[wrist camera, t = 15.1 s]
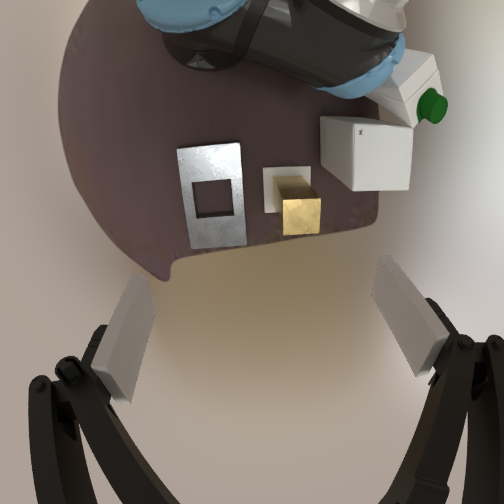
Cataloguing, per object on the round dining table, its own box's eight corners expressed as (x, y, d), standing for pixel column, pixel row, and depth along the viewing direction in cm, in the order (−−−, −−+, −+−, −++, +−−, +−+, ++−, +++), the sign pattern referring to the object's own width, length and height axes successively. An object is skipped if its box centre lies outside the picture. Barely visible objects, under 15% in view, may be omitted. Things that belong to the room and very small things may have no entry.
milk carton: (327, 83, 40) (422, 142, 29) (299, 46, 33) (408, 95, 22) (360, 53, 37) (458, 103, 26) (336, 15, 30) (450, 54, 19)
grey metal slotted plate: (179, 147, 44) (176, 149, 42) (239, 141, 44) (239, 142, 42) (192, 243, 53) (191, 249, 51) (246, 239, 53) (246, 245, 51)
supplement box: (319, 166, 47) (350, 193, 34) (318, 115, 42) (352, 121, 29) (367, 166, 47) (410, 192, 34) (368, 117, 42) (415, 127, 29)
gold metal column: (272, 176, 47) (283, 200, 36) (301, 175, 47) (320, 198, 36) (273, 204, 49) (283, 235, 39) (301, 203, 49) (319, 233, 39)
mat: (262, 167, 47) (262, 168, 46) (309, 165, 47) (310, 166, 46) (264, 211, 50) (264, 212, 50) (309, 209, 51) (309, 210, 50)
